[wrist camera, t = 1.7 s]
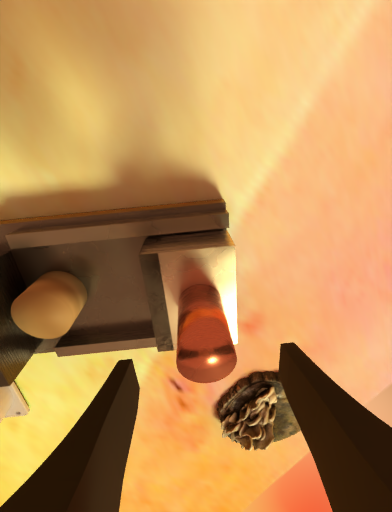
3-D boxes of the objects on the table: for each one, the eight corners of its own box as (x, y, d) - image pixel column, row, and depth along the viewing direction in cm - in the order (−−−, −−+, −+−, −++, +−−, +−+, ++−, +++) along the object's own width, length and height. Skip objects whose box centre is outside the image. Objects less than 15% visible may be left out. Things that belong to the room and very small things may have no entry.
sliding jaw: (161, 325, 21) (149, 420, 14) (145, 238, 18) (118, 302, 10) (230, 318, 21) (255, 408, 14) (227, 230, 18) (258, 288, 10)
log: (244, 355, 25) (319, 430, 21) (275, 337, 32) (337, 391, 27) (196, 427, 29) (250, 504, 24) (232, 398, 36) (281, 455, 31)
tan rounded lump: (45, 315, 20) (23, 341, 18) (27, 273, 19) (0, 295, 16) (92, 310, 20) (79, 335, 18) (79, 268, 19) (61, 289, 16)
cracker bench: (18, 346, 23) (-35, 411, 17) (-44, 225, 18) (-147, 260, 12) (227, 324, 23) (242, 381, 17) (222, 198, 18) (240, 221, 13)
